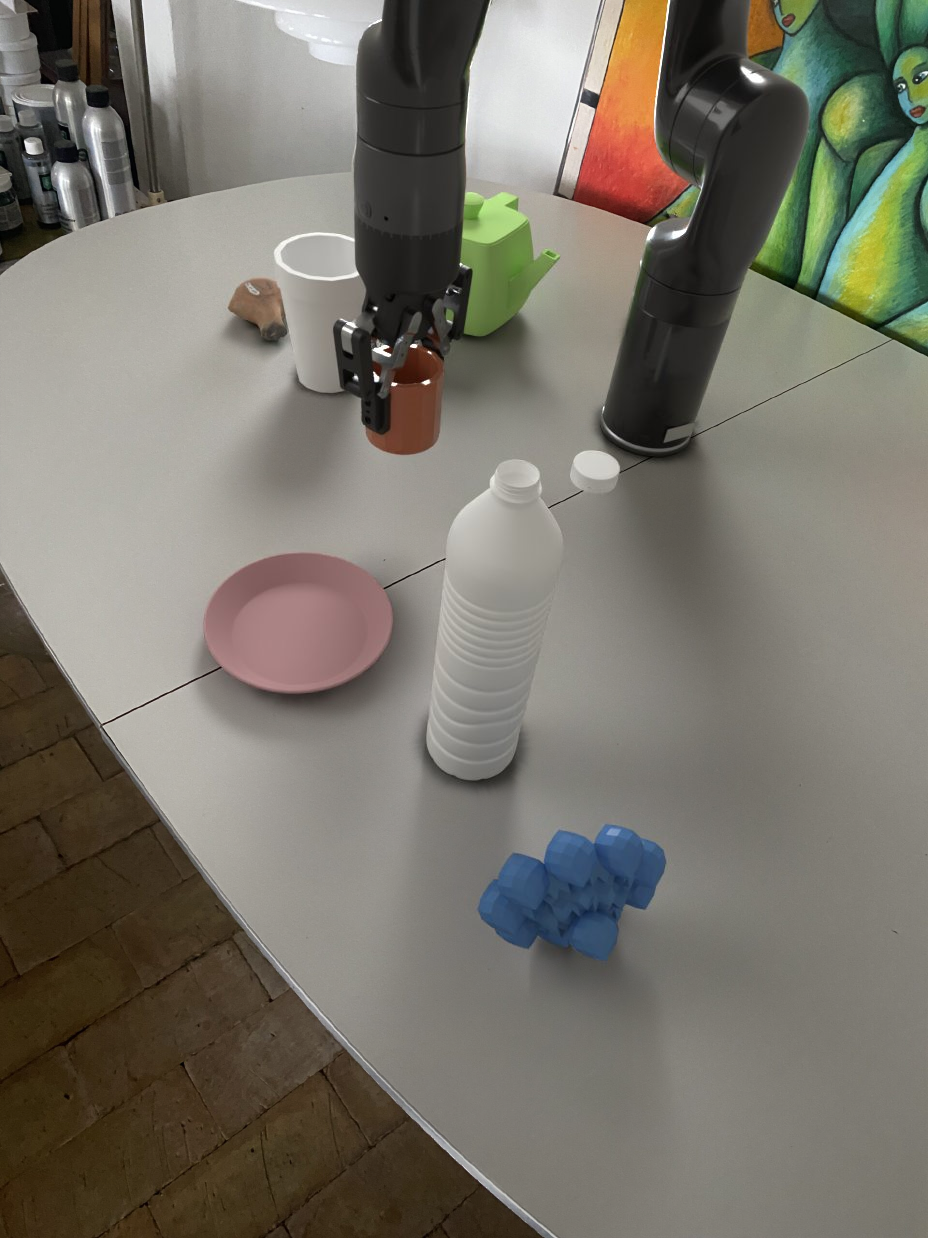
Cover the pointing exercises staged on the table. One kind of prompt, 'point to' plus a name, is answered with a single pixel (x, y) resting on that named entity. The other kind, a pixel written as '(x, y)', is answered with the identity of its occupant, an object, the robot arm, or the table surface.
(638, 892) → the grapes
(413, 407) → the terracotta cup
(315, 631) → the plate
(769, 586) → the table surface
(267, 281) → the oil lamp
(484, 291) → the teapot
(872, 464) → the table surface
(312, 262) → the foam cup
